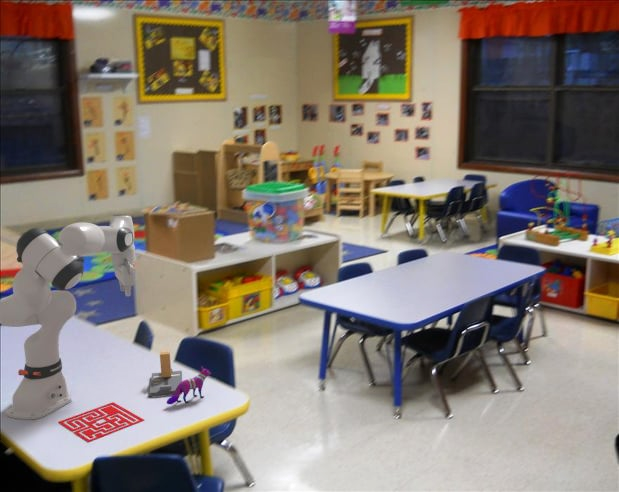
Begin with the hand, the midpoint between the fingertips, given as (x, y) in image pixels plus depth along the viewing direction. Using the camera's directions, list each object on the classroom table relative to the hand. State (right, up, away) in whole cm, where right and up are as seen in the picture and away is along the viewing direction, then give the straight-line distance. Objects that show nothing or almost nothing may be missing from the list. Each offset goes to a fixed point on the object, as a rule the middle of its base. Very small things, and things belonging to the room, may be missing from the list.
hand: (125, 293), depth 273 cm
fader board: (+17, -33, -9) cm, 38 cm away
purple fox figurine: (+28, -36, -22) cm, 50 cm away
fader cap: (+16, -30, -4) cm, 35 cm away
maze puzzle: (+1, -40, -36) cm, 54 cm away
